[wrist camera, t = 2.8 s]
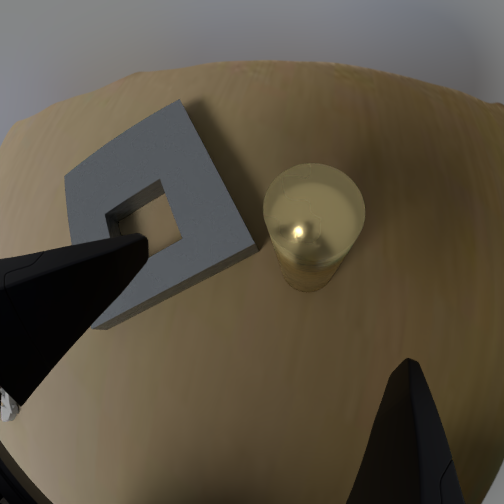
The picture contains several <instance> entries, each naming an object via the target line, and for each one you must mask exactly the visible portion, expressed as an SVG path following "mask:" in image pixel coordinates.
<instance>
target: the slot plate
mask: <svg viewBox="0 0 504 504" xmlns="http://www.w3.org/2000/svg"><path fill="white" fill-rule="evenodd" d="M64 178H65V193H66V204H67V213H68V221H69V229H70V235H71V242H72V245H76V244H81V243H86V242H91V241H96V240H102V239H107V238H112V237H118V236H121V233H120V230H119V226H118V222H119V221H120V220H122V219H123V218H125V217H126V216H128V215H130V214H131V213H133V212H134V211H136V210H137V209H139V208H141V207H142V206H144V205H146V204H147V203H149V202H150V201H152V200H154V199H155V198H157V197H159V196H160V195H162V194H164V193H165V194H166V197H167V199H168V202H169V205H170V207H171V210H172V213H173V215H174V218H175V220H176V223H177V226H178V228H179V231H180V233H181V236H182V238H183V239H181V240H179V241H178V242H176V243H174V244H172V245H170V246H169V247H167V248H165V249H163V250H162V251H160V252H158V253H156V254H155V255H153V256H151V257H149V258H148V261H147V263H146V264H145V265H144V267H143V268H142V269H141V270H140V271H139V273H138V274H137V275H136V276H135V277H134V279H133V280H132V281H131V282H130V284H129V285H128V286H127V287H126V289H125V290H124V291H123V292H122V293H121V294H120V296H119V297H118V298H117V299H116V300H115V301H114V302H113V303H112V304H111V305H110V306H109V307H108V308H107V309H106V310H105V311H104V312H103V313H102V314H101V315H100V316H99V317H98V319H97V320H96V321H95V322H94V323H93V324H92V325H91V328H92V329H99V330H108V329H110V328H111V327H113V326H115V325H117V324H119V323H121V322H123V321H125V320H127V319H129V318H131V317H133V316H135V315H137V314H139V313H141V312H143V311H145V310H147V309H149V308H150V307H152V306H154V305H156V304H158V303H160V302H162V301H164V300H166V299H168V298H170V297H172V296H174V295H176V294H178V293H180V292H182V291H184V290H185V289H187V288H189V287H191V286H193V285H195V284H197V283H199V282H201V281H203V280H205V279H207V278H209V277H211V276H213V275H215V274H217V273H218V272H220V271H222V270H224V269H226V268H228V267H230V266H232V265H234V264H236V263H238V262H240V261H242V260H244V259H246V258H247V257H249V256H251V255H253V254H255V253H257V252H259V250H258V248H257V246H256V244H255V242H254V241H253V239H252V237H251V235H250V233H249V231H248V229H247V227H246V225H245V223H244V221H243V219H242V217H241V215H240V213H239V211H238V210H237V208H236V206H235V204H234V202H233V200H232V198H231V196H230V194H229V192H228V190H227V188H226V186H225V185H224V183H223V181H222V179H221V177H220V175H219V173H218V171H217V169H216V167H215V165H214V163H213V161H212V160H211V158H210V156H209V154H208V152H207V150H206V148H205V146H204V144H203V142H202V140H201V139H200V137H199V135H198V133H197V131H196V129H195V127H194V125H193V123H192V121H191V120H190V118H189V116H188V114H187V112H186V110H185V108H184V106H183V105H182V103H181V101H180V99H179V100H177V101H175V102H173V103H172V104H170V105H168V106H166V107H164V108H163V109H161V110H159V111H157V112H156V113H154V114H152V115H150V116H149V117H147V118H145V119H144V120H142V121H140V122H139V123H137V124H136V125H134V126H132V127H131V128H129V129H128V130H126V131H125V132H123V133H122V134H120V135H119V136H117V137H116V138H114V139H113V140H111V141H110V142H108V143H107V144H106V145H104V146H103V147H101V148H100V149H99V150H97V151H96V152H95V153H93V154H92V155H91V156H89V157H88V158H87V159H85V160H84V161H83V162H81V163H80V164H79V165H78V166H76V167H75V168H74V169H73V170H71V171H70V172H69V173H68V174H66V175H65V176H64Z"/></svg>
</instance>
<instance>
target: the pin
mask: <svg viewBox="0 0 504 504" xmlns="http://www.w3.org/2000/svg"><path fill="white" fill-rule="evenodd" d="M263 214H264V220H265V223H266V226H267V229H268V232H269V235H270V238H271V241H272V244H273V247H274V250H275V252H276V255H277V258H278V261H279V264H280V267H281V270H282V273H283V276H284V278H285V280H286V281H287V283H288V284H289V285H290V286H291V287H293V288H294V289H296V290H299V291H302V292H313V291H317V290H319V289H321V288H323V287H324V286H325V285H326V284H327V283H328V282H329V280H330V279H331V277H332V276H333V274H334V273H335V271H336V270H337V268H338V267H339V265H340V264H341V262H342V261H343V259H344V258H345V256H346V255H347V253H348V251H349V250H350V248H351V247H352V245H353V244H354V242H355V240H356V239H357V237H358V236H359V234H360V232H361V230H362V228H363V224H364V220H365V204H364V200H363V197H362V194H361V192H360V190H359V189H358V187H357V185H356V184H355V183H354V182H353V180H351V179H350V178H349V177H348V176H347V175H346V174H345V173H343V172H342V171H340V170H338V169H336V168H334V167H331V166H328V165H324V164H318V163H307V164H301V165H297V166H294V167H292V168H289V169H287V170H286V171H284V172H283V173H281V174H280V175H279V176H278V177H277V178H276V179H275V180H274V181H273V182H272V183H271V185H270V187H269V188H268V190H267V192H266V195H265V199H264V204H263Z"/></svg>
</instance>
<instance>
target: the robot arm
mask: <svg viewBox="0 0 504 504" xmlns="http://www.w3.org/2000/svg"><path fill="white" fill-rule="evenodd" d="M148 257H149V253H148V239H147V238H146V237H145V236H143V235H141V234H139V233H135V234H129V235H123V236H118V237H112V238H107V239H102V240H96V241H91V242H86V243H81V244H76V245H71V246H66V247H61V248H56V249H52V250H47V251H42V252H37V253H33V254H28V255H23V256H17V257H11V258H4V259H0V389H1V388H2V389H3V390H4V391H5V392H6V393H7V394H8V395H9V396H10V397H11V398H12V399H13V400H14V401H15V402H16V403H17V404H19V405H20V406H22V405H23V404H24V403H25V402H26V401H27V399H28V398H29V397H30V396H31V394H32V393H33V392H34V391H35V389H36V388H37V387H38V386H39V384H40V383H41V382H42V381H43V380H44V378H45V377H46V376H47V375H48V374H49V372H50V371H51V370H52V369H53V368H54V366H55V365H56V364H57V363H58V362H59V361H60V359H61V358H62V357H63V356H64V355H65V354H66V353H67V351H68V350H69V349H70V348H71V347H72V346H73V345H74V344H75V342H76V341H77V340H78V339H79V338H80V337H81V336H82V335H83V334H84V333H85V331H86V330H87V329H88V328H89V327H90V326H91V325H92V324H93V323H94V322H95V321H96V320H97V319H98V317H99V316H100V315H101V314H102V313H103V312H104V311H105V310H106V309H107V308H108V307H109V306H110V305H111V304H112V303H113V302H114V301H115V300H116V299H117V298H118V297H119V296H120V294H121V293H122V292H123V291H124V290H125V289H126V287H127V286H128V285H129V284H130V282H131V281H132V280H133V279H134V277H135V276H136V275H137V274H138V273H139V271H140V270H141V269H142V268H143V267H144V265H145V264H146V263H147V261H148ZM1 397H2V393H1V392H0V410H1ZM451 459H452V455H451V452H450V448H449V445H448V442H447V438H446V435H445V432H444V429H443V426H442V423H441V420H440V417H439V414H438V411H437V408H436V405H435V403H434V400H433V397H432V395H431V392H430V389H429V387H428V384H427V382H426V379H425V377H424V374H423V372H422V369H421V367H420V364H419V363H418V362H417V361H415V360H413V359H410V358H406V359H405V360H404V361H403V362H402V363H401V364H400V365H399V366H398V367H397V368H396V369H395V370H394V371H393V372H392V374H391V375H390V377H389V380H388V383H387V386H386V389H385V392H384V395H383V398H382V401H381V404H380V406H379V409H378V412H377V415H376V417H375V420H374V423H373V427H372V430H371V434H370V437H369V441H368V444H367V447H366V451H365V454H364V457H363V460H362V463H361V466H360V469H359V471H358V474H357V477H356V480H355V482H354V485H353V488H352V490H351V493H350V495H349V498H348V500H347V502H346V504H465V502H464V498H463V495H462V491H461V488H460V485H459V481H458V477H457V474H456V470H455V466H454V462H453V460H451ZM0 504H53V503H52V502H51V501H50V500H49V499H48V498H47V497H46V496H45V495H44V494H43V493H42V492H41V491H40V490H39V489H38V488H37V486H36V485H35V484H34V483H33V482H32V481H31V480H30V479H29V477H28V476H27V475H26V474H25V473H24V471H23V470H22V469H21V468H20V467H19V465H18V464H17V463H16V462H15V460H14V459H13V458H12V456H11V455H10V454H9V452H8V451H7V450H6V448H5V447H4V445H3V444H2V442H1V441H0Z"/></svg>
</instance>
